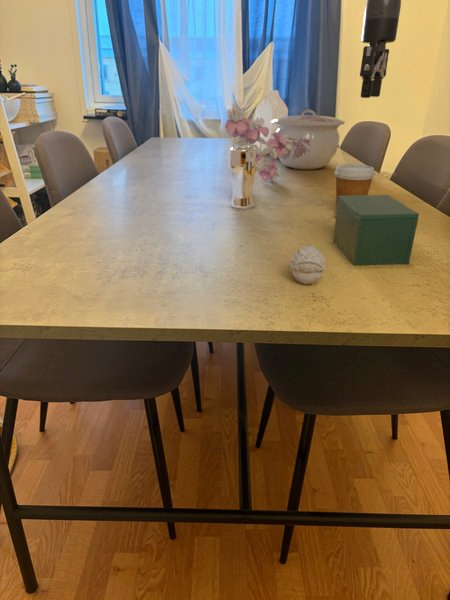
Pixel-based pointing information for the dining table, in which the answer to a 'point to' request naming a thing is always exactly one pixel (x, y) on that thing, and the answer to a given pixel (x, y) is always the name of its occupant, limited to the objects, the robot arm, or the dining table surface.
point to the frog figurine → (307, 265)
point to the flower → (251, 133)
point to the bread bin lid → (377, 207)
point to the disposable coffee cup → (353, 180)
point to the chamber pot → (309, 139)
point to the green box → (374, 238)
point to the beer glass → (242, 175)
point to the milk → (270, 114)
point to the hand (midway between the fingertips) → (370, 97)
